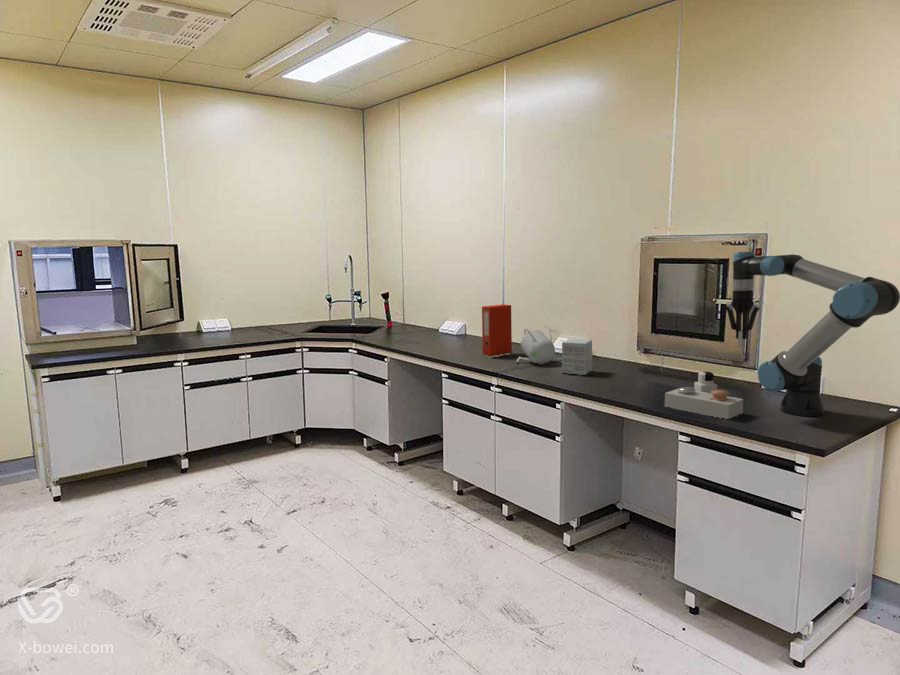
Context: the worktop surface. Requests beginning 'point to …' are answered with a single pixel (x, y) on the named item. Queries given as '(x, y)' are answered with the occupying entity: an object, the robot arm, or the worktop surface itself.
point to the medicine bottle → (705, 382)
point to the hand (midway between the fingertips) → (741, 346)
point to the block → (704, 404)
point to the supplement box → (577, 356)
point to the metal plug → (687, 390)
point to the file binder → (496, 329)
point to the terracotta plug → (720, 395)
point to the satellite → (538, 346)
